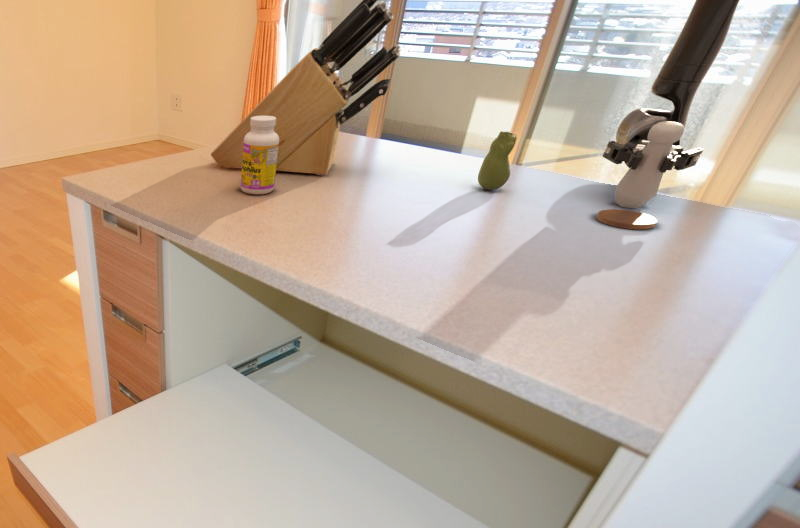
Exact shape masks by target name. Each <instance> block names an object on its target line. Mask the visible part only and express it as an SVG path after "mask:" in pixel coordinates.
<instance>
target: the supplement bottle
mask: <svg viewBox="0 0 800 528" xmlns="http://www.w3.org/2000/svg"><path fill="white" fill-rule="evenodd" d="M250 125H251V131H250V132H249V133H247V134H246V135H245V137H244V144H243V158H242V168H241V173H240V185H239V186H240V187H239V188H240V190H241V192H243V193H245V194H249V195H254V196H255V195H256V196H257V195H258V196H259V195H260V196H262V195H266V194H269V193H271V192H273V190H274V188H275V182H276V172H277V170H276V165H277V155H278V147H279V136H278V134H277V133H275V132H274V127H275V125H276V117H273V116H254V117H251V120H250Z"/></svg>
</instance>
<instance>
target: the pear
mask: <svg viewBox="0 0 800 528" xmlns="http://www.w3.org/2000/svg"><path fill="white" fill-rule="evenodd" d="M517 138H518V137H517V134H514V133H512V132H510V131H502V130H501V131H500V132H499V133H498V135H497V137H495V139H493V141H492V142H491V144H490V147H489V150H488V153H486V155H485V157H484V159H483V162H482V163H481V166H480V169H479V171H478V175H477V183H478V185H479V186H480V187H481V188H483V189H484V190H489V191H494V190H498V189H500V188H502V187H503V186H504V185H505V184H506V183H507V182H508V181H509V179H510V176H511V168H510V160H509V155H510V154H511V152H512V151H513V149H514V148H515V146H516V143H517Z"/></svg>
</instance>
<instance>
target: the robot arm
mask: <svg viewBox="0 0 800 528" xmlns="http://www.w3.org/2000/svg"><path fill="white" fill-rule="evenodd" d="M739 2H740V0H695V2H694V4H693V6H692V8H691V10H690V13H689V15H688V17H687V19H686V21H685V23H684V25H683V27H682V29H681V31H680V33H679V35H678V37H677V39H676V41H675V43H674V45H673V46H672V48H671V50H670V52H669V54H668V55H667V57H666V59H665V61H664V63H663V65H662V66H661V69H660V70H659V72H658V74H657V76H656V78H655V79H654V81H653V83H652V86H651V93H652V94H653V95H654V96H656V97H659V98H662V99H664V100H666V101H668V102H671V103H672V106H673V109H672V110H665V109H655V108H654V109H653V108H647V107H646V108H645V107H640V108H635V109H633V110H632V111H630V112H628V113H627V114H626V116H624V118H623V119H622V120H621V122H620V123H619V125H618V127H617V130H616V134H615V140H611V141H610V140H609V141H608V143H607V144H606V147H605V149H604V151H603V153H602V155H601V156H602V158H604V159H606V160H608V161H609V162H610V163H613V164H615V165H621V164H622V163H623V162H624V164H625V165H626V167H627V168H628V169H630V167H631V169H632V170H636V168H637V166H638V164H639V162H640V160H641V158H642V156H643V153H642V151H643V150H644V149H645V147H646V146H647V144H648V143H649V142H650V140H648V139H647V138H648V133H649V131H650V129H651V128H652V126H653V125H655V124H657V123H659V122H664V121H672V122H678V123H681V124H682V125H683V126H684V129H685V127H686V123H687V121H688V117H689V112H690V109H691V106H692V103H693V100H694V98H695V95H696V93H697V91H698V89H699V88H700V86H701V83H702V82H703V80H704V79H705V77H706V76H707V74H708V72H709V71H710V69H711V67H712V65H713V63H714V62H715V60H716V58H717V57H718V54H719V53H720V51H721V49H722V47H723V45H724V43H725V40H726V38H727V35H728V34H729V31H730V27H731V24H732V21H733V18H734V15H735V13H736V10H737V8H738V5H739ZM703 151H704V148H702V147H695V148H692V149H691V148H689V149H688V150H686V151H684V148H683V147H682V146H681V138H680V139H679V140H678V141H677V142H675V143H673V145H672V148H671V151H670V154H669V155H668V156H666V159H665V161H664V163H663V165H662V166H661V168H660V170H659V171H660V172H661V173H663V174H665V173H666V172H667V171H672V170H673V169H674V170H676V171H682V170H687V169H689V168H691V167H695V166H696V164H697V163H698V161H699V159H700V157H701V156H702V153H703Z"/></svg>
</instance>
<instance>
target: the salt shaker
mask: <svg viewBox="0 0 800 528" xmlns="http://www.w3.org/2000/svg"><path fill="white" fill-rule="evenodd" d="M684 132H685V128H684V126H683V125H682V124H681V123H678V122H672V121H664V122H659V123H657V124H655V125H653V126H652V128H651V129H650V131H649V133H648V138H647V139H648V140H650V142H649V143H648V144H647V146H646V147H645V149H644V150H643V151H642V153H643V156H642V158H641V160H640V162H639V164H638V166H637V168H636V170H632V169H631V167H630V168H628V170H627V171H626V172H625V174H624V175H623V177H622V178H621V179H620V181H619V182H618V183H617V185H616V187H615V191H614V195H615V197H614V199H615V200H614V201H615V203H616V204H617V205H618V206H620V207H622V208H626V209H638V208H641V207H644V206H645V205H646V204H648V203H649V202H650V201H651V200H652V199H653V198H654V197H655V196H657V194H658V191H659V187H660V185H661V182H662V180H663V175H664V173H661V172H660V171H659V170H660V168H661V166H662V165H663V163H664V161H665V159H666V156H668V155H669V154H670V151H671V148H672V145H673V143H675V142H677V141H678V140H679V139H680V140H681V138H682V137H683V135H684Z"/></svg>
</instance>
